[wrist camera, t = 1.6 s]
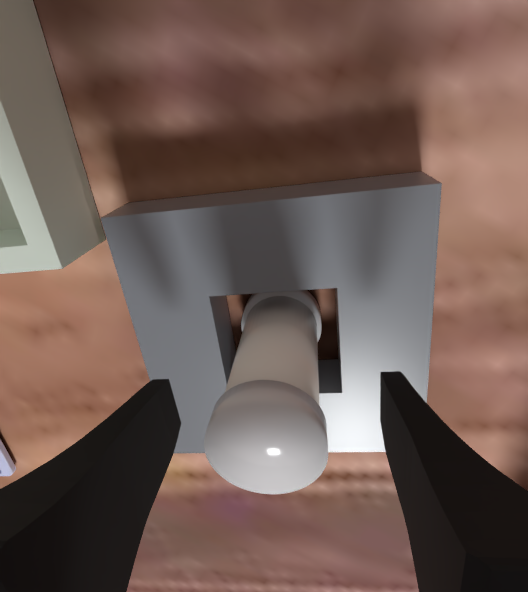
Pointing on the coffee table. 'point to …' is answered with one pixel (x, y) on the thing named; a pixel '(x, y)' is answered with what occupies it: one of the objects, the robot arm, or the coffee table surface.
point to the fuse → (272, 399)
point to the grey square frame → (284, 287)
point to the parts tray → (38, 156)
